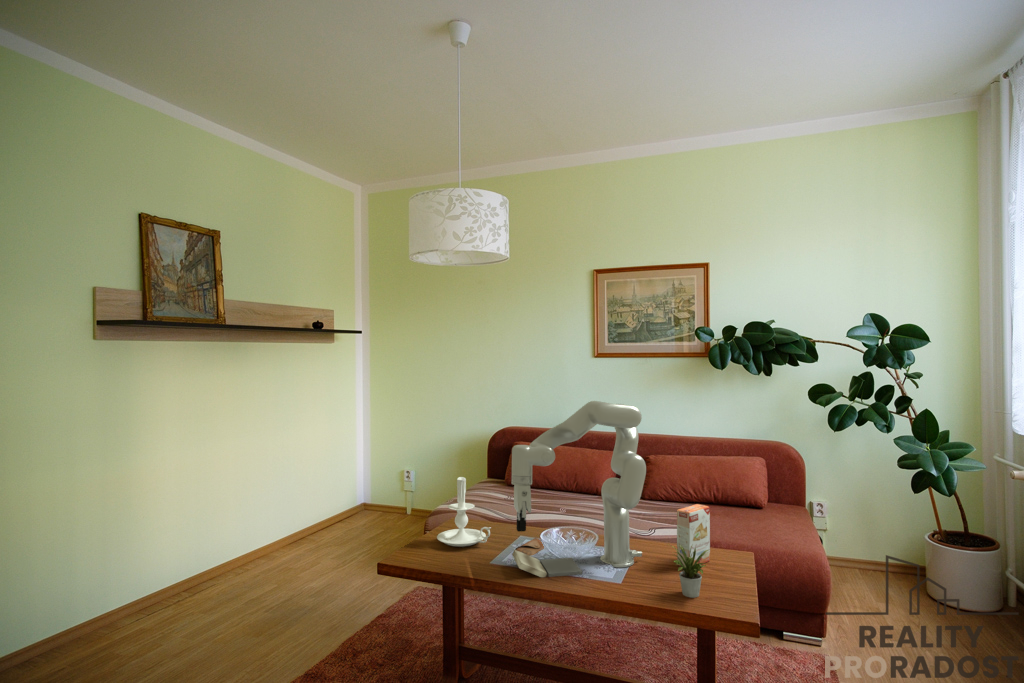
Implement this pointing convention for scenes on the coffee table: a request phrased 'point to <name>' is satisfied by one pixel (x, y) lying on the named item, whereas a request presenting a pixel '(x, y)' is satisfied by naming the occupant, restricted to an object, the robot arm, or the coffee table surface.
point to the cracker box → (694, 532)
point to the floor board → (560, 567)
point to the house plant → (690, 573)
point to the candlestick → (462, 522)
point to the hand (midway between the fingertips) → (521, 530)
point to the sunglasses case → (531, 547)
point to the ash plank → (529, 564)
